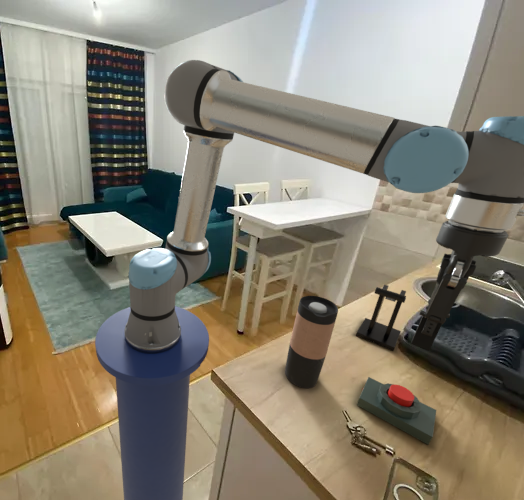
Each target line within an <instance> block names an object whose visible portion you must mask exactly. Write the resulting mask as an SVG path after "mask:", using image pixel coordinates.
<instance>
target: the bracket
mask: <svg viewBox="0 0 524 500" xmlns="http://www.w3.org/2000/svg"><path fill="white" fill-rule="evenodd" d="M381 288H382V289H385V290H388V289H389V285H388V284H384V285H383V286H382V287H381ZM406 293H407V291H406V290H403V289H401V290H400V293H399V294H401V295H404V296H406ZM384 300H385V297H384V296H381V295H378V297H377V301H376V303H375V308H374V310H373V312H372V316H371V318H367V317H365V318H364V320H363V321H362V322H361V324H360V326H359V328H358V329H357V331H356V334H355V336H356V337H358V338H361V339H363V340H366V341H368V342H371V343H373V344H375V345H378V346H380V347H382V348H385V349H387V350H390V351H392V352H394V350H395V347H396V345H397V343H398V340H399V338H400V335H401V330H399V329H396V328H394V325H395V322H396V319H397V317H398V314H399V312H400V309H401V307H402V303H403V302H400V301H397V300H396V302H395V305H394V309H393V310H392V313H391V316H390V319H389V321H388V324H383V323H380V322H378V318H379V314H380V312H381V309H382V306H383V303H384ZM406 300H407V297H406V298H405V301H404V303H405V302H406Z"/></svg>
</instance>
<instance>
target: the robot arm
mask: <svg viewBox="0 0 524 500" xmlns="http://www.w3.org/2000/svg"><path fill="white" fill-rule="evenodd" d="M163 92H164V93H163V97H164V98H163V99H164V103H165V106H166V110H167V112H168V113H169V115H170V116H171V117H172V118H173V120H174V121H176V122H177V123H179V124H181V125H183V134H184V136H185V137H186V138H187V141H188V142H187V148H186V154H185V159H184V160H185V161H184V166H183V173H182V178H181V184H180V190H179V196H178V203H177V208H176V215H175V221H174V228H173V231H172V232H170V233H168V235H167V236H166V242H165V248H162V247H154V248H152V249H151V248H150V249H149V248H147V249H144V250H141V251H139V252H138V253H136V254H134V255H133V257H132V258H131V260H130V262H129V266H128V276H127V277H128V285H129V304H130V305H129V307H130V308H131V312H130V315H129V318H128V322H127V324H126V326H125V340H126V343H127V344H128V345H129V346H130V347H131V348H132V349H134V350H136V351H138V352H142V353H147V354H157V353H162V352H165V351H168V350H170V349H172V348H173V347H175V346H176V345H177V344H178V342H179V340H180V337H181V326H180V324H179V321H178V318H177V315H176V312H175V306H176V295H177V294H178V293H179V292H181V291H182V290H184V289H186V287H189V285H191V284H193V283H194V282H196V281H197V280H199V279H200V278H202V277H203V276H204V274H206V272H207V271H208V270H209V268H210V266H211V261H212V255H211V251H209V241H208V240H207V238H206V237H205V236H206V232H207V227H208V223H209V218H210V215H211V209H212V205H213V200H214V195H215V190H216V186H217V182H218V177H219V173H220V168H221V163H222V159H223V156H224V150H225V147H226V146H227V145H229V144H231V142H233V139H234V136H235V134H238V135H240V136H244V137H247V138H250V139H253V140H257V141H260V142H263V143H266V144H268V145H272V146H275V147H278V148H281V149H285V150H288V151H290V152H294V153H297V154H300V155H302V156H307V157H309V158H313V159H316V160H319V161H322V162H326V163H328V164H332V165H335V166H338V167H341V168H344V169H347V170H350V171H353V172H356V173H360V174H363V175H366V176H367V177H371V178H374V179H376V180H380V181H382V182H386V183H389V184H390V185H392V186H393V187H394V188H396V189H397V190H400V191H403V192H406V193H409V194H410V193H411V194H426V193H431V192H435V191H439V190H441V189H443V188H445V187H447V186H448V185H450V184H458V185H457V188H456V190H455V191H454V193H453V196H452V198H451V201H450V203H449V205H448V208H447V210H446V213H445V215H444V217H445V219H447V220H445V221H444V222H442V224H441V226H440V229H439V231H438V233H437V236H436V238H435V242H436V243H437V244H438V245H439V246H441V247H442V248H444V249H448V250H449V249H450V250H452V251H451V253H444V254H443V256H442V258H441V262H440V266H439V267H440V268H439V271H438V273H437V277H436V284H435V286H434V289H433V291H432V293H431V296H430V297H429V299H428V300H427V305H426V306H425V311H424V310H419V311H420V312H419V316H421V318H420V321H419V323H418V326H417V327H416V330H415V332H414V334H413V337H412V339H411V342H410V344H411V345H414V346H416V347H418V348H420V349H423V350H426V351H428V352H430V351H431V348H432V346H433V344H434V342H435V340H436V338H437V336H438V335H439V332H440V329H441V328H442V325H443V324H445V323H446V321H447V319H449V318H450V317H451V313H450V312H451V310H452V309H453V307H454V304H455V303H456V300H457V298H458V297H459V295H460V293H461V291H462V290H463V289H464V288H465V286H466V285H467V283H468V280H469V278H470V277H471V276H472V275H474V272H475V271H476V268H477V264H476V263H477V260H475V259H474V257H478V256H481V257H483V258H484V257H486V258H487V257H489V258H491V257H496V256H498V255H499V254H500V253H501V251H502V249H503V247H504V245H505V243H506V242H507V239H508V238H509V234H508V232H507V230H511V229H513V227H514V225H515V223H516V221H517V216H518V217H524V208H523V207H524V115H517V116H514V115H513V116H511V115H507V116H504V115H503V116H492V117H489V118H487V119H486V120H485V121H484V122H483V124H482V125H481V127H480V128H479V130H471V131H460V130H459V131H457V130H456V129H451V128H448V127H445V126H441V125H426V124H423V123H418V122H414V121H410V120H405V119H400V118H399V119H398V118H395V117H393V116H389V115H384V114H381V113H376V112H372V111H368V110H363V109H358V108H354V107H350V106H346V105H342V104H338V103H335V102H330V101H325V100H320V99H317V98H312V97H308V96H303V95H301V94H295V93H291V92H288V91H282V90H278V89H273V88H269V87H265V86H262V85H261V86H260V85H258V84H257V85H256V84H253V83H248V82H244V81H243V80H242V78H241V77H239V76H238V75H237V74H236V73H234V72H232V71H231V70H230V69H229V70H228V69H224V68H222V67H219V66H216V65H214V64H211V63H209V62H206V61H204V60H200V59H189V60H186V61H183V62H181V63H179V64H178V65H177V66H175V68H173V69H172V71H171V72H170V73H169V74H168V77H167V79H166V82H165V85H164V91H163Z"/></svg>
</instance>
